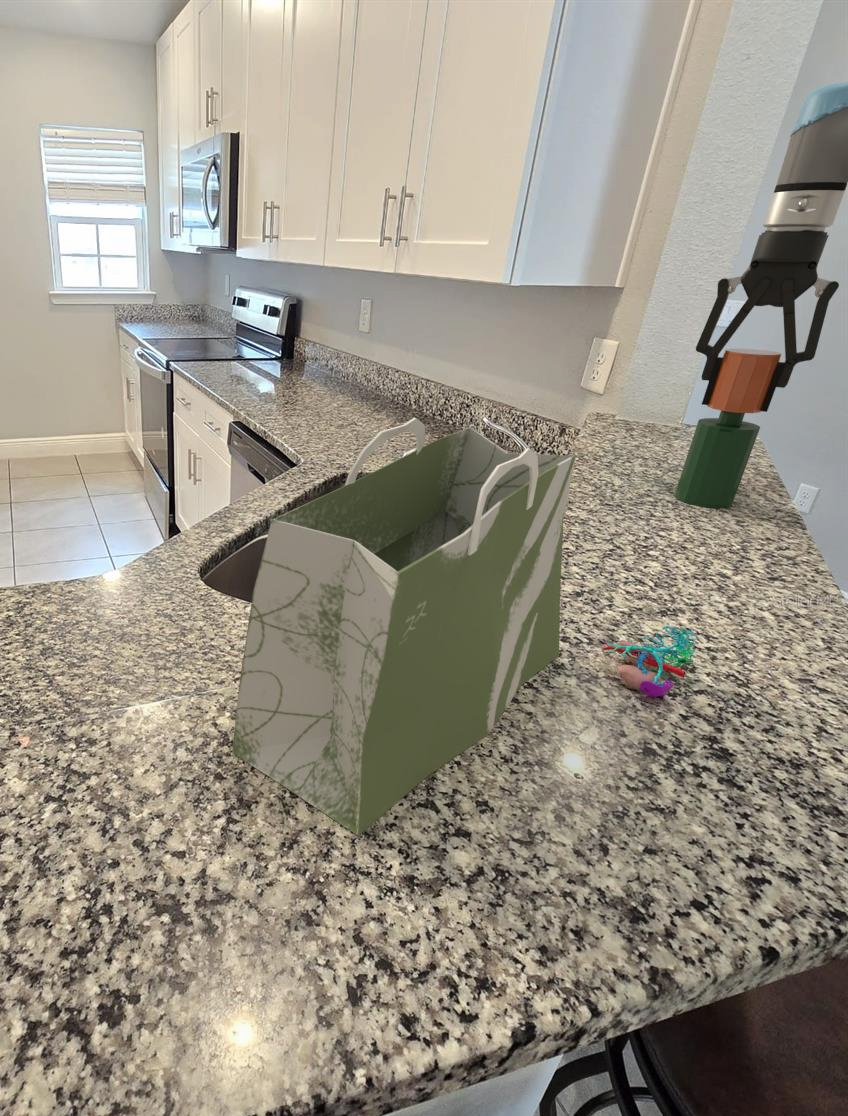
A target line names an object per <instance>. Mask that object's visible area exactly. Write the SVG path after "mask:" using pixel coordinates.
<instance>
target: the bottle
mask: <svg viewBox="0 0 848 1116" xmlns="http://www.w3.org/2000/svg"><path fill="white" fill-rule="evenodd" d="M745 415H746V413H736V412H727V411H721V410H720V412H719V415H718V417H704V418H700V419H699V420H698V421H697V424H696V427H695V430H694V433H693V437H692V439H691V443H690V445H689V449H688V452H687V455H686V459H685V462H684V464H683V468H682V471H681V474H680V477H679V480H678V484H677V485H676V486H677V487H676V489H675V493H674V497H675V498H676V499H677V500H678V501H681V502H683V503H685V504H689V505H692V506H696V507H703V508H711V509H725V508H726V509H727V508H730V507H732V505H733V503H734V501H735V498H736V495H737V493H738V490H739V487H740V484H741V482H742V479H743V476H744V473H745V470H746V468H747V465H748V462H749V459H750V456H751V454H752V452H753V448H754V446H755V443H756V441H757V438H758V435H759V432H760V430H761V426H760V425H758V424H755V423H753V422H749V421H745V420H744V418H745Z"/></svg>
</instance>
